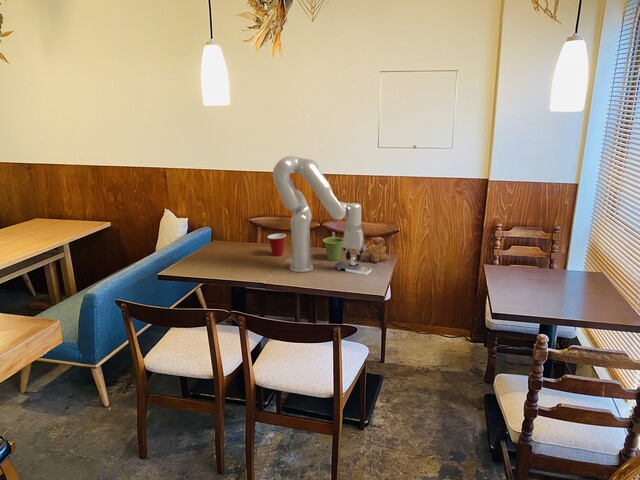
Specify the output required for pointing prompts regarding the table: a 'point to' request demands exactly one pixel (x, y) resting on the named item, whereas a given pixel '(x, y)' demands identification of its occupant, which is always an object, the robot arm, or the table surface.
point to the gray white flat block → (353, 268)
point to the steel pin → (353, 260)
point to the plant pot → (333, 247)
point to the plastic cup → (277, 243)
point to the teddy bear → (377, 251)
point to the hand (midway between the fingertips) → (353, 260)
